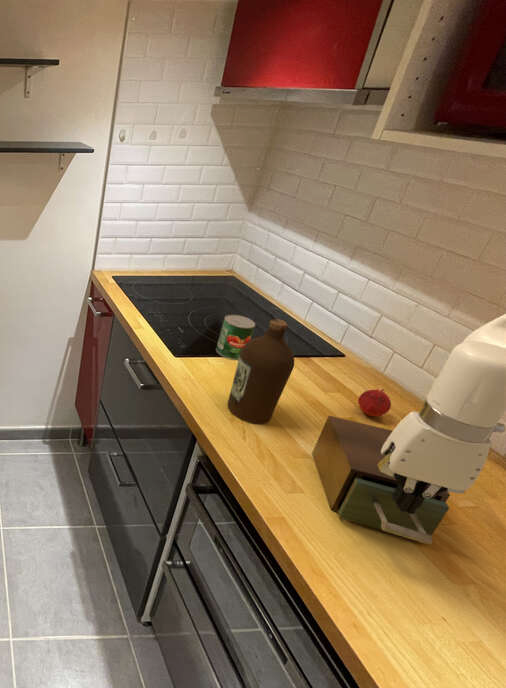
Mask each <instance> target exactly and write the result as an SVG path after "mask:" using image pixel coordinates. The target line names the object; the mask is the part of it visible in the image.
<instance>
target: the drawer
mask: <svg viewBox="0 0 506 688" xmlns="http://www.w3.org/2000/svg"><path fill="white" fill-rule="evenodd" d="M397 486H398V485H397V484H393V483H390V482H386V481H382V480H379V479H375V478H371V477H368V476H364V475H360V474H357V473H355V474H354V476H353V478H352V480H351V482H350V484H349V486H348V488H347V490H346V492H345V494H344V496H343V498H342V500H341V502H340V505H341V507H340V509H339V511H338V512H337V513H338V516H339V518H340V519H341V518H342V519H345V520H347V521H350V522H355V523H357V524H360V525H364V526H368V527H371V528H373V529H378V530H381V531H383V532H387V533H390V534H393V535H396V536H400V537H403V538H406V539H409V540H412V541H416V542H419V543H422V544H425V545H429V546H430V545H432V543H433V537H432V536H433V534H434V533H435V531H436V529H437V528H438V526H439V525H440V523H441V522H442V520H443V519H444V517H445V516H446V514H447V512H448V511H449V509H450V507H449V505H448V503H447V501H446V502H442V501H439V500H435V497H436V495H433V496H432V497H431V498H425V499H424V501H423V502H422V504H421V506H420V507H419V508H417V509H416V511H415V512H414V514H409V513H408V512H402V511H400V510H399V508H398V506H397V504H396V502H395V501H394V500H393V497H392V496H393V493H394V491H395V489H396V488H397Z"/></svg>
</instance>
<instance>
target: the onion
mask: <svg viewBox="0 0 506 688" xmlns="http://www.w3.org/2000/svg"><path fill="white" fill-rule="evenodd" d="M384 391H385V389H384V388H383V387H377V389H369V390H366V391H364V392H362V393H361V394H360V395H359V397H358V400H357V402H358V406H359V408H360V409H361V411H362V412H363V413H365V415H367V416H369V417H380V416H384V415H386V414H387V413H388V412H389V411H390V410H391V407H392V402H391V399H390V397H389V396H388V394H387V393H385V392H384Z"/></svg>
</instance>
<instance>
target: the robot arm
mask: <svg viewBox="0 0 506 688" xmlns="http://www.w3.org/2000/svg"><path fill="white" fill-rule="evenodd" d="M505 413H506V313H504V314H502V315H501V316H498V317H497V318H494V319H492V320H491V321H489V322H487V323H485V324H483V325H481V326H480V327H477V328H476V329H475V330H474V331H472V332H471V333H469V335H467V336H466V337H465V338H464V339H463V341H462V342H461V343H459V344H457V345H456V346H454V348H453V349H452V351H451V352H450V354H449V355H448V358H447V360H446V361H445V363H444V365H443V367H442V369H441V370H440V372H439V374H438V375H437V378H436V379H435V381H434V383H433V385H432V386H431V388H430V390H429V392H428V394H427V396H426V398H425V399H424V401H423V403H422V405H421V407H420V409H419V410H418V411H410V412H409V413H408V414H406V416H405V417H403V418H402V419H401V420H400V422H399V423H398V424H397V425H396V426H395V427H394V429H393V430H392V433H391V434H390V436H389V437H388V439H387V440H386V442H385V443H384V445H383V447H382V449H381V454H382V455H383V456H385V457H384V458H383V459H382V460H381V461H380V462H379V463H378V464H377V466H378V468H379V470H380V471H381V472H382V473H385V474H387V475H389V476H391V477H394V478H395V479H396V480H397V481H398V483H399V484H398V486H397V488H396V489H395V491H394V493H393V496H392V497H393V500H394V501H395V502H396V504H397V506H398V508H399V510H400V511H402V512H408V513H409V514H414V512H415V511H416V509H417V508H419V507H420V506H421V504H422V502H423V501H424V499H425V498H431V497H432V496H433V495H434V494H437V493H442V492H446V491H447V492H448V493H454V494H465V492H466V491H468V490H470V488H471V487H472V486H473V485H474V484H475V483H476V482H477V480H478V478H479V476H480V474H481V472H482V470H483V469H484V467H485V465H486V464H485V463H486V462H487V459H488V456H489V452H490V447H491V443H492V441H491V438H490V437H491V436H492V434H493V433H497V432H498V433H505V430H506V425H505V424H504V423H502V422H500V420H501V418H502V417H503V415H504V414H505Z"/></svg>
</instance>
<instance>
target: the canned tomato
mask: <svg viewBox="0 0 506 688" xmlns="http://www.w3.org/2000/svg"><path fill="white" fill-rule="evenodd" d="M255 327H256V323H255V322H254V320H252V319H250V318H249V317H246V316H242V315H240V314H239V315H238V314H228V315H227V314H226V315H225V316H224V319H223V322H222V326H221V329H220V333H219V336H218V341H217V343H216V348H215V351H216V353H217V354H218V355H219V356H221V357H222V358H225V359H228V360H233V361H238V360H239V355H240V352H241V350H242V348H243V346H244V345H245V344H246V343H247V342H248V341H250V340H252V336H253V333H254V330H255Z"/></svg>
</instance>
